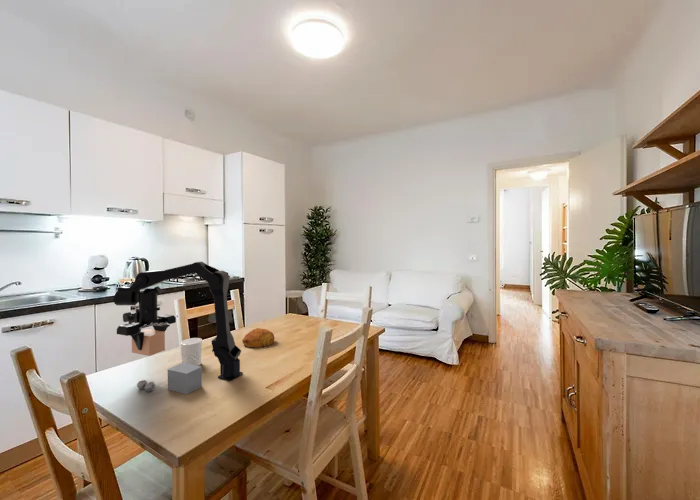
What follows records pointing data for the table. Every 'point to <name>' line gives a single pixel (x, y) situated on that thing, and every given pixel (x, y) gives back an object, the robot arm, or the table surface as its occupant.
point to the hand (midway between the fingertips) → (148, 347)
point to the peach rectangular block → (150, 343)
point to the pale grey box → (184, 378)
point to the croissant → (258, 338)
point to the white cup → (191, 351)
